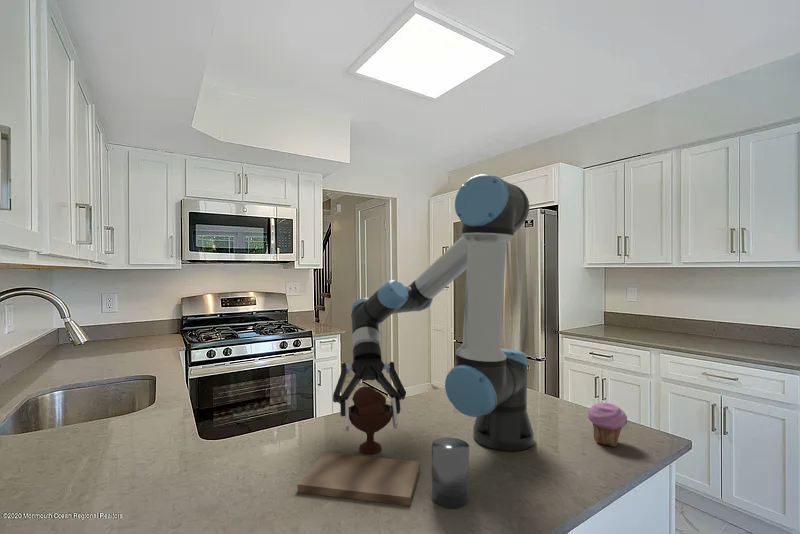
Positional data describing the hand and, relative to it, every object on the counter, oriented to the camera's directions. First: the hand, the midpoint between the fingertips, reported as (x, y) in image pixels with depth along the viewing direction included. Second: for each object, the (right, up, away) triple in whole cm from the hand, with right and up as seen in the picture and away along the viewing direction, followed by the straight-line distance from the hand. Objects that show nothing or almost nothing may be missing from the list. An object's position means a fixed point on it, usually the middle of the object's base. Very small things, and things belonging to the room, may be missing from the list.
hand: (371, 427), depth 93 cm
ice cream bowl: (-1, -6, +3) cm, 7 cm away
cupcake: (+59, -7, +8) cm, 60 cm away
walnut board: (-1, -6, -11) cm, 13 cm away
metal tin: (+16, -6, -18) cm, 25 cm away
